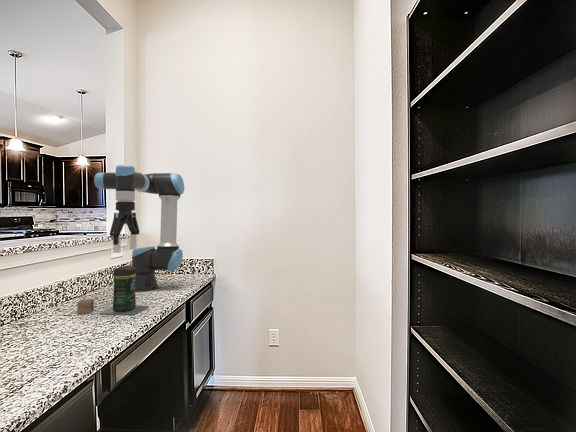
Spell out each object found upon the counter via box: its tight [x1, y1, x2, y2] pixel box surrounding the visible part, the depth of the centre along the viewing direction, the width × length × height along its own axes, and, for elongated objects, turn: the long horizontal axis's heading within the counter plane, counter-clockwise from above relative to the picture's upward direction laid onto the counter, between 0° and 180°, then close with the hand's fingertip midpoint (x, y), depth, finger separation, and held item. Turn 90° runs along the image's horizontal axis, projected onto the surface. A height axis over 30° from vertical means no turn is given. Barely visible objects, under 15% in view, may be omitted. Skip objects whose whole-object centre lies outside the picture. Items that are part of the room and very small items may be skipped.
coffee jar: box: [112, 265, 137, 312], centre depth 156 cm, size 10×8×19 cm
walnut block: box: [76, 298, 95, 316], centre depth 154 cm, size 5×5×5 cm
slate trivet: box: [99, 305, 150, 316], centre depth 156 cm, size 13×15×1 cm
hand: (125, 250), depth 157 cm, fingers open, 13 cm apart
